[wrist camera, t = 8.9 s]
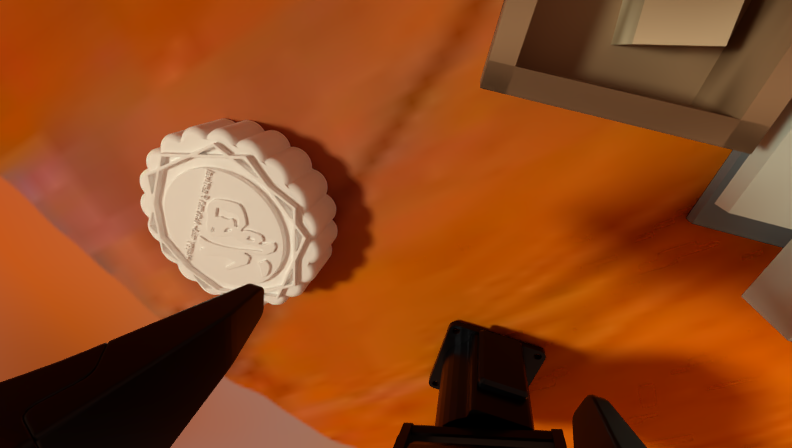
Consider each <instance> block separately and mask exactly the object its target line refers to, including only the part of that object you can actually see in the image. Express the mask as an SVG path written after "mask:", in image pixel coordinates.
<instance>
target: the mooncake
mask: <svg viewBox="0 0 792 448" xmlns="http://www.w3.org/2000/svg"><path fill="white" fill-rule="evenodd" d="M146 163H147V167H148V169H146V170H144V171H143V172H142V174H141V176H140V185H141V187H142V189H143V191H144V192H145V193H144V194H143V196H142V197H141V207H142V210H143V211H144V213H145V214H146V215H147V216H148V217H149V221H148V228H149V231H150V233H151V234H152V236H153V237H154V238H155V239H157V240H158V241H160V245H161V250H162V252H163V254H164V255H165V256H166V257H167V258H168V259H169V260H170V261H172V262H174V263H177V264H178V267H179V270H180V272H181V273H182V274H183V275H184V276H185V277H186V278H188V279H190V280H192V281H197V282H198V283H199V285H200V286H201V287H202V289H204V290H205V291H206V292H208V293H210V294H214V295H218V294H220V295H222V294H224V293H227V292H229V291H231V290H234V289H236V288H239V287H241V286H244V285H246V284H254V285H258V286H261V287H262V288H263V289H264V305H265V304H267V303H270V304H273V305H280V304H283V303H284V302H286V301H287V299H288V298H289V297H294V296H298V295H300V294H302V293H303V292H304V290H305V289H306V287H307V286H308V285H309V283H310V282H311V281H312V280H313V279H314V278H315V277H316V275H317V274H318V273H319V271H320V270H321V269H322V267H323V266H324V264H325V263H326V262H327V260H328V259H329V258H330V256H331V254H332V246H331V244H332V243H333V241H334V240H335V239H336V237H337V234H338V229H337V226H336V224H335V222H334V221H333V220H332V219H333V218H334V217H335V215H336V205H335V202H334V201H333V199H332V198H331V197H330V196H329V195H327V194H326V193H327V189H328V185H327V181H326V179H325V177H324V176H323V175H322V174H321V173H320V172H319V171H317V170H315V169H312V162H311V159H310V157H309V156H308V154H307V153H306V152H305V151H304V150H302V149H300V148H297V147H291V146H290V143H289V141H288V139H287V138H286V137H285V136H284V135H283V134H282V133H280V132H278V131H276V130H267V131H264V129H263V128H262V127H261V126H260V125H259V124H258V123H256V122H254V121H251V120H244V121H241V122H237V123H235V122H234V121H232V120H229V119H219V120H215V121H211V122H208V123H204V124H200V125H196V126H192V127H189V128H187V129H186V130H183V131H179V132H175V133H172V134H169V135H167V136H165V137H164V138H163V140H162V142H161V147H159V148H156V149H153V150H152V151H150V152H149V154H148V156H147V159H146Z"/></svg>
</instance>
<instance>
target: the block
mask: <svg viewBox="0 0 792 448" xmlns="http://www.w3.org/2000/svg"><path fill="white" fill-rule="evenodd" d="M743 3H744V0H623V1H622V5H621V9H620V12H619V16H618V20H617V23H616V27H615V31H614V35H613V38H612V42H611V45H638V46H680V47H709V46H726V45H727V43H728V40H729V38H730V35H731V33H732V30H733V28H734V25H735V23H736V20H737V18H738V15H739V13H740V10H741V8H742V5H743Z"/></svg>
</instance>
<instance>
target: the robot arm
mask: <svg viewBox="0 0 792 448" xmlns="http://www.w3.org/2000/svg"><path fill="white" fill-rule="evenodd" d="M263 309H264V289H263V288H262V287H261V286H258V285H254V284H246V285H244V286H241V287H239V288H236V289H234V290H231V291H229V292H227V293H224V294H222V295H219V296H217V297H215V298H212V299H210V300H207V301H205V302H203V303H200V304H198V305H195V306H193V307H190V308H188V309H186V310H183V311H181V312H178V313H176V314H174V315H171V316H169V317H166V318H164V319H162V320H159V321H157V322H154V323H152V324H149V325H147V326H145V327H142V328H140V329H137V330H135V331H133V332H130V333H128V334H125V335H123V336H121V337H118V338H116V339H113V340H111V341H109V342H108V344H107V343H104V344H101V345H99V346H96V347H94V348H91V349H89V350H87V351H84V352H81V353H79V354H77V355H74V356H71V357H69V358H66V359H64V360H62V361H59V362H56V363H53V364H51V365H48V366H45V367H42V368H40V369H37V370H34V371H31V372H29V373H26V374H23V375H20V376H17V377H14V378H12V379H8V380H6V381H3V382H0V448H170V447H171V446H172V444H173V443H174V442H175V440H176V439H177V438H178V436H179V435H180V434H181V432H182V431H183V430H184V428H185V427H186V426H187V424H188V423H189V422H190V420H191V419H192V417H193V416H194V415H195V414H196V412H197V411H198V410H199V408H200V407H201V406H202V404H203V403H204V402H205V400H206V399H207V398H208V396H209V395H210V394H211V393H212V391H213V390H214V388H215V387H216V386H217V384H218V383H219V382H220V380H221V379H222V378H223V377H224V375H225V374H226V373H227V371H228V370H229V368H230V367H231V366H232V364H233V363H234V361H235V359H236V358H237V356H238V354H239V353H240V351H241V349H242V348H243V346H244V344H245V343H246V341H247V339H248V338H249V336H250V334H251V333H252V331H253V329H254V328H255V326H256V324H257V323H258V321H259V319H260V318H261V316H262V313H263ZM454 328H457V329H459V330H455V329H454ZM535 354H539V355H535ZM545 358H546V355H545V351H544V349H543V348H541V347H538V346H535V345H532V344H529V343H526V342H522V341H519V340H516V339H513V338H509V337H506V336H503V335H500V334H497V333H493V332H490V331H487V330H484V329H480V328H477V327H474V326H471V325H468V324H464V323H461V322H457V321H454V322H452V323H450V325H449V327H448V330H447V333H446V335H445V338H444V340H443V343H442V346H441V348H440V351H439V354H438V356H437V359H436V361H435V364H434V367H433V369H432V372H431V375H430V378H429V385H430V386H431V387H433V388H436V389H439V397H438V405H437V414H436V422H435V426H428V425H414V424H413V423H404V424H403V426H402V428H401V431H400V433H399V435H398V437H397V439H396V442H395V444H394V447H393V448H567V446H566V442H565V438H564V435H563V431H562V429H551V431H543V430H534V423H533V416H532V409H531V402H530V395H529V388H528V387H529V385H530V384H531V382H532V380H533V379H534V377H535V375H536V374H537V372H538V370H539V369H540V367H541V365H542V364H543V362H544V360H545ZM436 381H437V382H436ZM573 440H574V448H647V447H646V446H645V445H644V444H643V442H642V441H641V440H640V439H639V438H638V436H637V435H636V434H635V433H634V431H633V430H632V429H631V428H630V427H629V425H628V424H627V423H626V422H625V421H624V419H623V418H622V417H621V416H620V415H619V413H618V412H617V411H616V410H615V408H614V407H613V406H612V405H611V404H610V402H609V401H607V400H606V399H604V398H601V397H598V396H595V395H588V396H587V397H586V398H585V399H584V401H583V402H582V403H581V405H580V406H579V407H578V409H577V410H576V411H575V413H574V415H573Z"/></svg>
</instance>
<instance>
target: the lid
mask: <svg viewBox="0 0 792 448" xmlns="http://www.w3.org/2000/svg"><path fill="white" fill-rule="evenodd" d="M714 204H716V205H717V206H719V207H720V208H722V209H723V210H725V211H726V212H728V213H731V214H735V215H739V216H743V217H746V218H750V219H754V220H758V221H762V222H765V223H769V224H773V225H777V226H781V227H784V228H788V229H792V98H791V100H790V101H789V102H788V104H787V105H786V107H785V108H784V109H783V111H782V112H781V114H780V115H779V116H778V118H777V119H776V121H775V122H774V123H773V125H772V126H771V128H770V129H769V130H768V132H767V133H766V134H765V136H764V137H763V139H762V140H761V141H760V143H759V144H758V146H757V147H756V148H755V150H754V151H753V153H752V154H750V155H749V156H748V158H747V159H746V160H745V162H744V163H743V165H742V166H741V167H740V169H739V170H738V171H737V173H736V174H735V176H734V177H733V178H732V180H731V181H730V183H729V184H728V185H727V187H726V188H725V190H724V191H723V192H722V194H721V195H720V197H719V198H718V199H717V201H716V202H715V203H714ZM741 297H743V298H744V299H745V300H746V301H747V302H748V303H749V304H750V305H751V306H752V307H753V308H754V309H755V310H756V311H757V312H758V313H759V314H760V315H762V316H763V317H764V318H765V319H766V320H767V321H768V322H769V323H770V324H771V325H772V326H773V327H774V328H775V329H776V330H777V331H778V332H779V333H781V334H782V335H783V336H784V337H785V338H786V339H787V340H788V341H791V342H792V239H791V240H790V241H789V243H788V244H787V245H786V246H785V247H784V248H783V249H782V250H781V252H780V253H779V254H778V255H777V256H776V257H775V258H774V259H773V261H772V262H771V263H770V264H769V265H768V266H767V267H766V268H765V270H764V271H763V272H762V273H761V274H760V275H759V276H758V277H757V279H756V280H755V281H754V282H753V283H752V284H751V285H750V287H749V288H748V289H747V290H746V291H745V292H744V293H743V294H742V296H741Z"/></svg>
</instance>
